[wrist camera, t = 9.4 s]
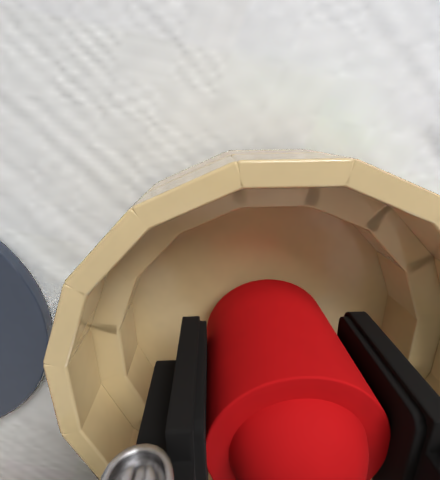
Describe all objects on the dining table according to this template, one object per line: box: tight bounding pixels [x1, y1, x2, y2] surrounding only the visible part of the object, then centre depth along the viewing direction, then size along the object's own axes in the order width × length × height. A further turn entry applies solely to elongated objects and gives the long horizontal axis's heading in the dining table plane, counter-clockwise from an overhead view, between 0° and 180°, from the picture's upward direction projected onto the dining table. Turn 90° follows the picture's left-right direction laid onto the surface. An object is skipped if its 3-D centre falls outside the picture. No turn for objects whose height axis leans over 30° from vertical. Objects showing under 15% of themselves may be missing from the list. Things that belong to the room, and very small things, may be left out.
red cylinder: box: [206, 279, 391, 480], centre depth 8 cm, size 4×4×6 cm
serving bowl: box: [43, 149, 440, 480], centre depth 10 cm, size 12×12×4 cm
